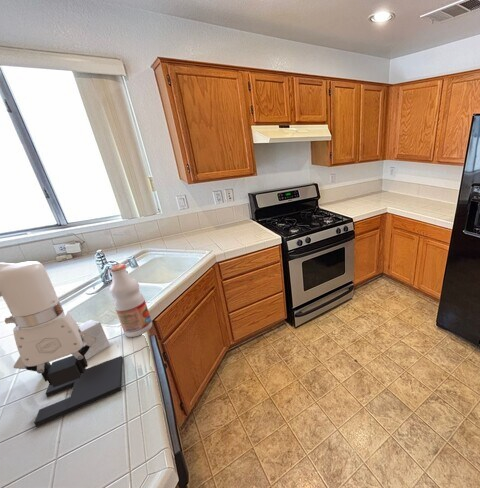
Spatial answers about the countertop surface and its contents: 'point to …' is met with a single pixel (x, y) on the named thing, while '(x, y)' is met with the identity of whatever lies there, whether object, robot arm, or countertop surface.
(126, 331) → the fruit juice
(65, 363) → the pad piece
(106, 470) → the countertop surface
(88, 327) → the small box
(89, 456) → the countertop surface
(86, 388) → the base pad
